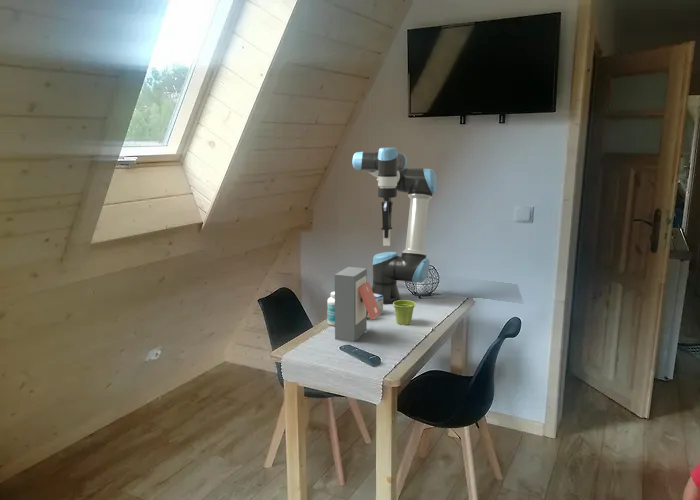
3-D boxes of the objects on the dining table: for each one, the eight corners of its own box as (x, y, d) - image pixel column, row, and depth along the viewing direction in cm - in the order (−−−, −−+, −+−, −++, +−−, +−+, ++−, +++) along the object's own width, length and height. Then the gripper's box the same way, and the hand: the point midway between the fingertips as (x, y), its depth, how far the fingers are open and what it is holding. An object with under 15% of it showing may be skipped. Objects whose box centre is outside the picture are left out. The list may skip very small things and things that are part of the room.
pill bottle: (324, 325, 229) (324, 294, 227) (331, 319, 236) (331, 289, 233) (341, 327, 227) (341, 296, 224) (347, 321, 234) (347, 291, 231)
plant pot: (413, 327, 227) (414, 307, 225) (391, 325, 229) (391, 305, 227) (415, 320, 236) (416, 300, 234) (394, 318, 238) (394, 299, 236)
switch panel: (348, 327, 226) (348, 266, 221) (371, 331, 222) (372, 269, 217) (335, 339, 213) (334, 274, 208) (359, 342, 209) (359, 277, 204)
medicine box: (363, 312, 247) (363, 293, 245) (369, 309, 250) (369, 291, 248) (377, 315, 242) (377, 296, 240) (383, 313, 245) (383, 294, 244)
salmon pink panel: (377, 313, 216) (365, 283, 216) (381, 312, 216) (369, 282, 215) (370, 319, 209) (358, 288, 209) (374, 318, 208) (362, 287, 208)
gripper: (380, 185, 224) (379, 242, 228) (375, 188, 211) (374, 248, 216) (398, 185, 222) (397, 242, 227) (394, 188, 210) (393, 248, 214)
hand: (386, 245), depth 221 cm, fingers closed
